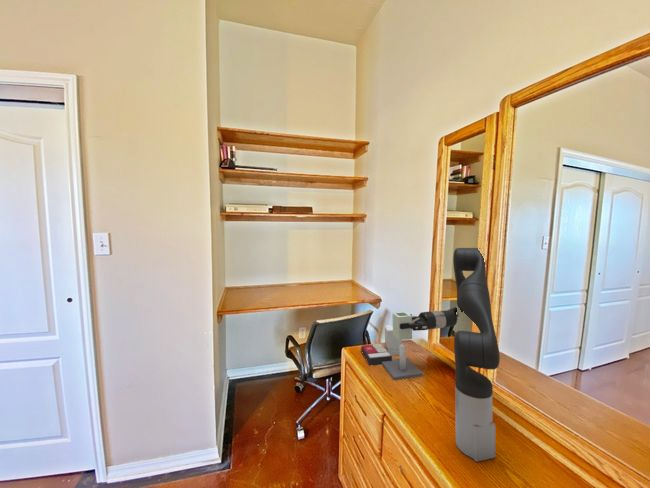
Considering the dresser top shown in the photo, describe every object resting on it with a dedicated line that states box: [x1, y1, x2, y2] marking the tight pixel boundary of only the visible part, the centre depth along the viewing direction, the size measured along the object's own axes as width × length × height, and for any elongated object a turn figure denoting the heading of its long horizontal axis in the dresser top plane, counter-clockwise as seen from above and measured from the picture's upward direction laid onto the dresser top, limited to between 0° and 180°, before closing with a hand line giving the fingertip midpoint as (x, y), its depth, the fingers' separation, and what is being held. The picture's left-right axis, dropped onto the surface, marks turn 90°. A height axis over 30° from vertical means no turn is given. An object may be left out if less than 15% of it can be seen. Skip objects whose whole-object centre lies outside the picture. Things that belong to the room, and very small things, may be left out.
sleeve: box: [392, 311, 413, 341], centre depth 116 cm, size 6×6×10 cm
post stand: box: [381, 343, 424, 381], centre depth 119 cm, size 14×13×12 cm
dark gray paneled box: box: [360, 343, 393, 366], centre depth 131 cm, size 11×4×15 cm
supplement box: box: [384, 324, 403, 356], centre depth 136 cm, size 7×7×13 cm
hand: (396, 323), depth 115 cm, fingers closed on sleeve, 6 cm apart
